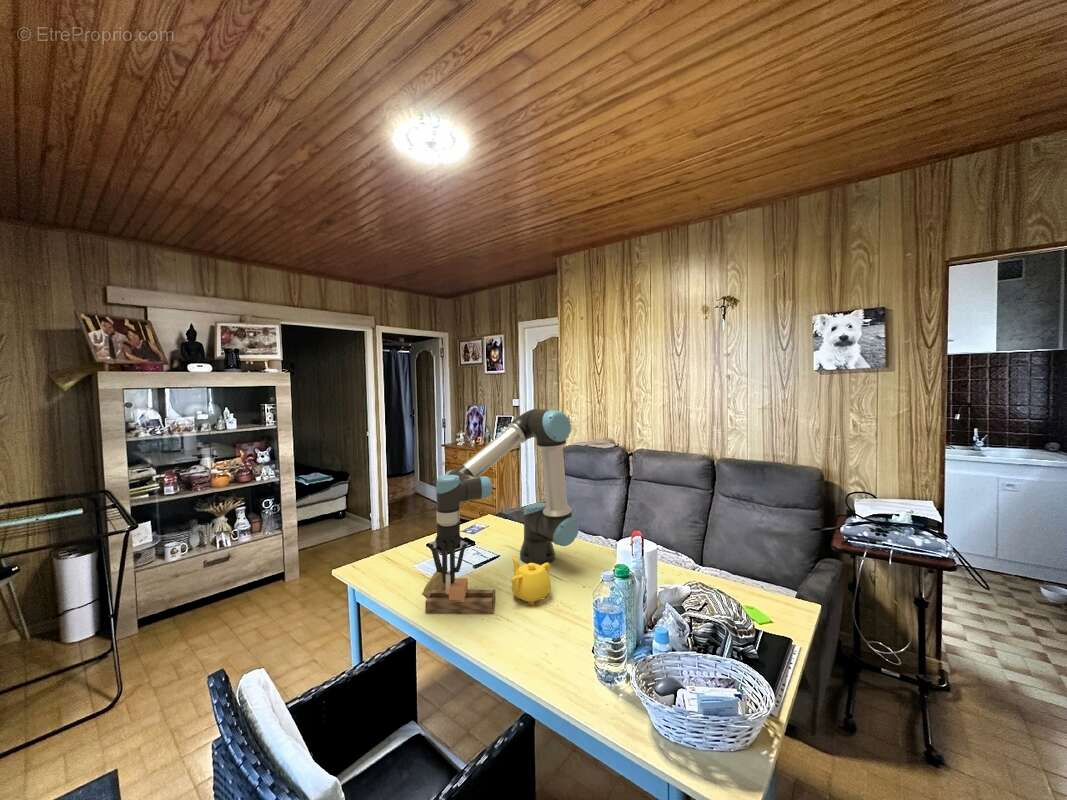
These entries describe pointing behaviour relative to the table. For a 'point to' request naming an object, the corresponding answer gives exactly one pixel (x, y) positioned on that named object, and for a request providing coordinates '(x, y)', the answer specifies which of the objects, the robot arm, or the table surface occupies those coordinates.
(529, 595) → the teapot
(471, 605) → the beam
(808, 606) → the table surface
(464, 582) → the orange brown block
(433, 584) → the rock
